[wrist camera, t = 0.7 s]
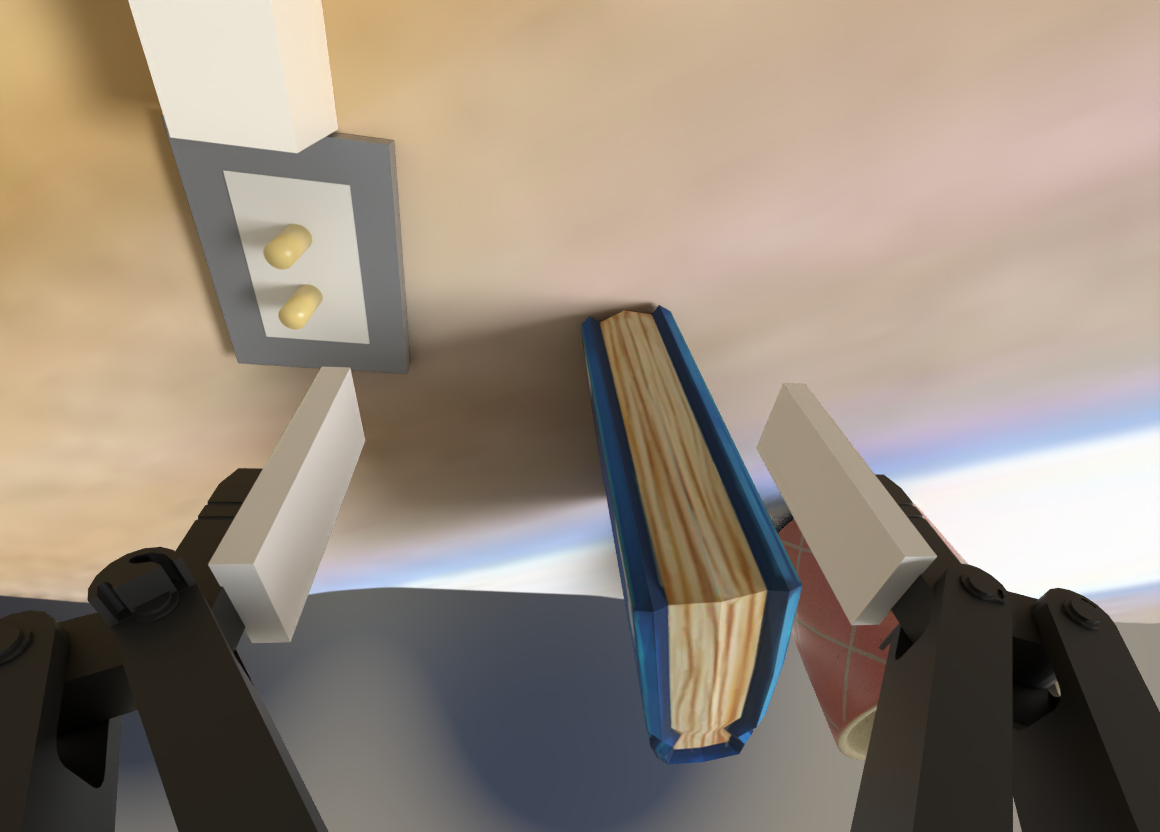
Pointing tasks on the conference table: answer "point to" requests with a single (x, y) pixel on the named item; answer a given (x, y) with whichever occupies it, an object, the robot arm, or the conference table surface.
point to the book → (686, 542)
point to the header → (303, 250)
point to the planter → (839, 649)
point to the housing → (240, 70)
